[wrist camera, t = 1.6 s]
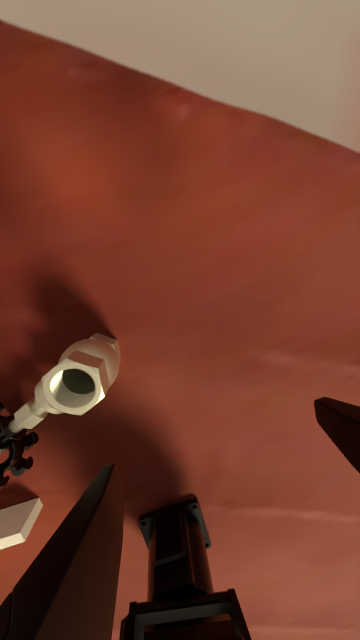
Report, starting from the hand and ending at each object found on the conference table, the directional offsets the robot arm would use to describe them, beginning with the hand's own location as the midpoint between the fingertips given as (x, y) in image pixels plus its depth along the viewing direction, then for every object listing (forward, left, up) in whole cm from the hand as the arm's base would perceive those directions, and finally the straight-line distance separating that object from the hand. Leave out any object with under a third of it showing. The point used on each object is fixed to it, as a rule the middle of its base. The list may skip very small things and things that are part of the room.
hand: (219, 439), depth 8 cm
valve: (0, +11, -13) cm, 16 cm away
